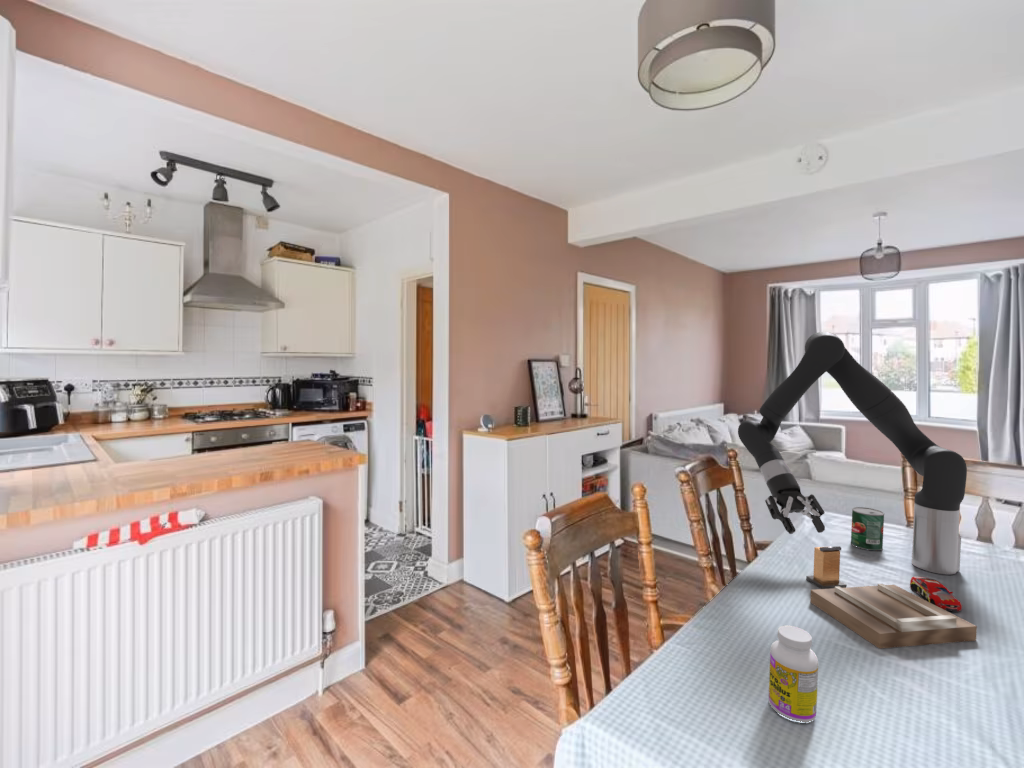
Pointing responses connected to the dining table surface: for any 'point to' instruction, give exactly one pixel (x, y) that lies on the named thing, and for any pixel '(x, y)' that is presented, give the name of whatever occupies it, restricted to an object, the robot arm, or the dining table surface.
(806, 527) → the dining table surface
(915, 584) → the race car
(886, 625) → the dock
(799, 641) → the supplement bottle
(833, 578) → the block with metal roller
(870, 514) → the canned tomato
